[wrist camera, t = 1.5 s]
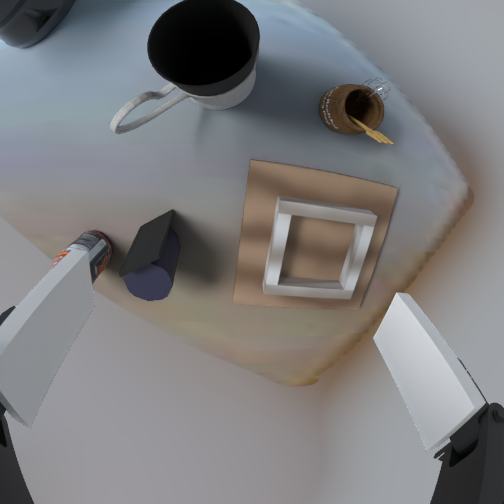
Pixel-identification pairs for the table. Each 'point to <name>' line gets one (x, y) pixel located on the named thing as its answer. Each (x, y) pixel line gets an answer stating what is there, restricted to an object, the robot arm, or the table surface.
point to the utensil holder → (354, 110)
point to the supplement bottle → (90, 251)
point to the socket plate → (309, 237)
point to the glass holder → (200, 57)
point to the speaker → (152, 260)
